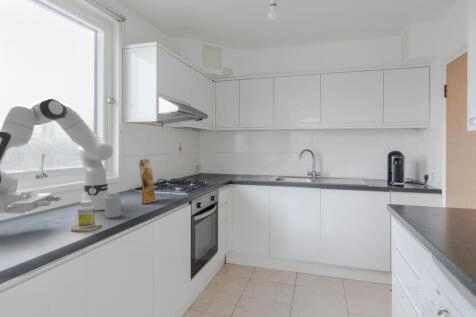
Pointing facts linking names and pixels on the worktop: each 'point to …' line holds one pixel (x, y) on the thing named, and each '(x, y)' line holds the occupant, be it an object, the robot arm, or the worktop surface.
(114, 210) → the can
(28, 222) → the worktop surface
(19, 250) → the worktop surface
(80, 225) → the pill bottle
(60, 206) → the worktop surface
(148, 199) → the pancake mix bag
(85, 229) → the coaster
